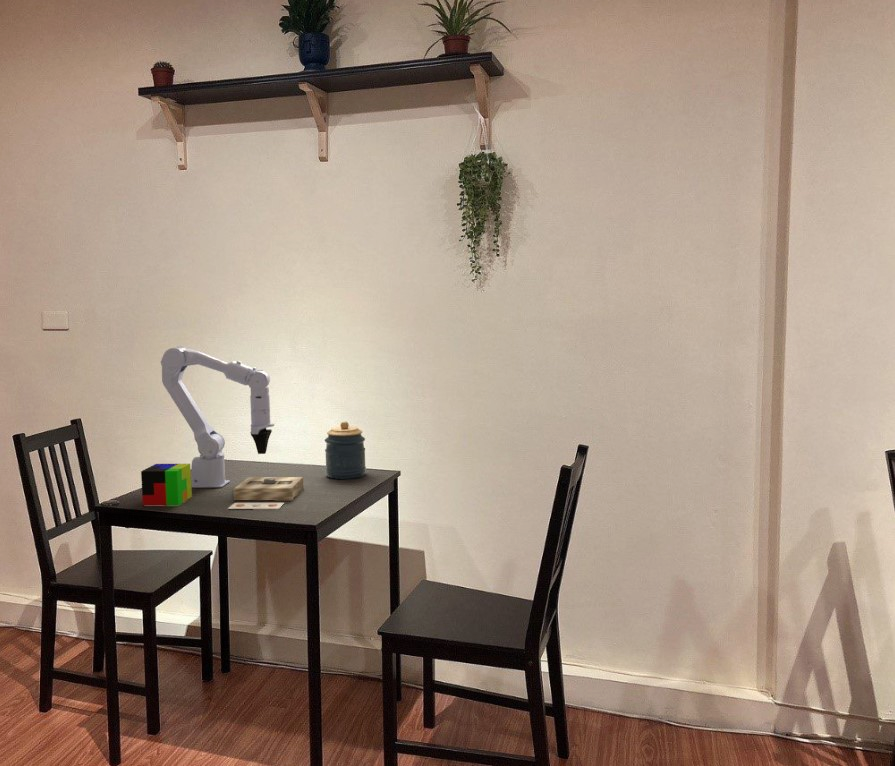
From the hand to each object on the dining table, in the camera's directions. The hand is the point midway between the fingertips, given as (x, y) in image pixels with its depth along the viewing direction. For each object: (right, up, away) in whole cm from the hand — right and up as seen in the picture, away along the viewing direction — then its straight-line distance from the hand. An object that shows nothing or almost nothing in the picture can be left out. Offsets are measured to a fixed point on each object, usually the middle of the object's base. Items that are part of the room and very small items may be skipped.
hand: (262, 453), depth 235 cm
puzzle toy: (-22, -12, -20) cm, 32 cm away
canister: (+25, -8, +11) cm, 28 cm away
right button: (+10, -9, -14) cm, 19 cm away
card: (+5, -12, -27) cm, 30 cm away
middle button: (+6, -8, -13) cm, 17 cm away
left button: (+1, -10, -13) cm, 16 cm away
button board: (+6, -11, -13) cm, 18 cm away
